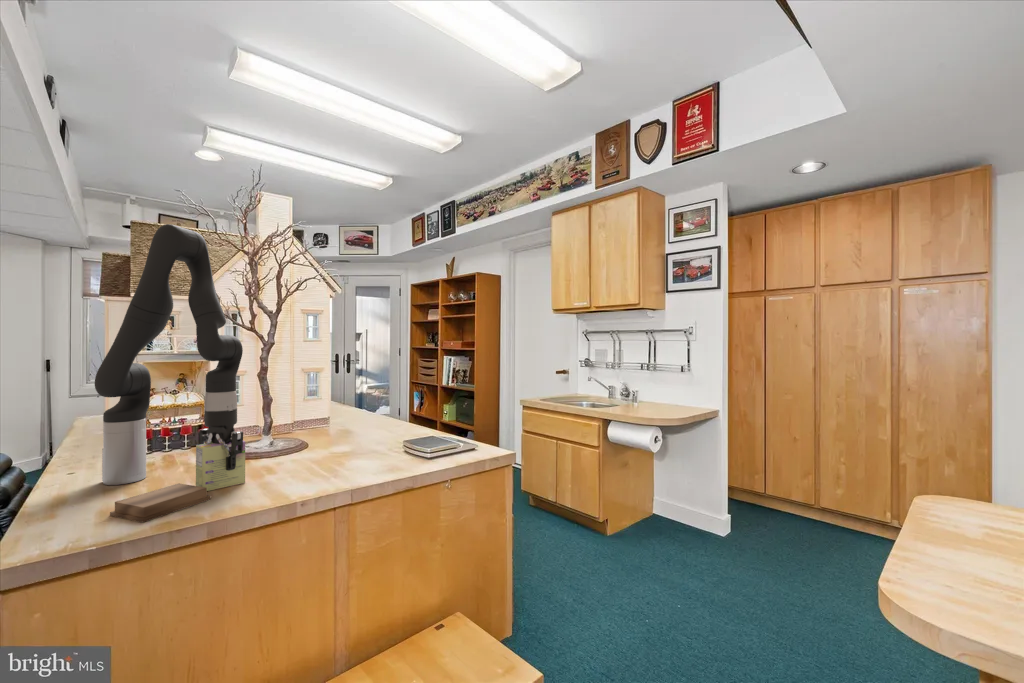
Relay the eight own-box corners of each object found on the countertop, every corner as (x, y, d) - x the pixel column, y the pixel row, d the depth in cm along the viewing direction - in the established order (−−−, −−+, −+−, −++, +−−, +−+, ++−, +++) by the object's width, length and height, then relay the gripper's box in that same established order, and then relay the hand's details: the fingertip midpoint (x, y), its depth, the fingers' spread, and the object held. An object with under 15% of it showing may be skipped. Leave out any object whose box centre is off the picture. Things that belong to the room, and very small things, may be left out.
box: (237, 479, 127) (238, 438, 127) (245, 483, 124) (245, 440, 124) (195, 488, 119) (195, 444, 119) (202, 493, 116) (202, 447, 116)
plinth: (110, 515, 100) (110, 502, 100) (180, 494, 115) (180, 482, 115) (142, 522, 97) (142, 508, 97) (210, 499, 111) (210, 487, 111)
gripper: (188, 408, 120) (188, 469, 120) (227, 411, 115) (227, 474, 115) (215, 404, 127) (215, 462, 127) (252, 407, 122) (252, 467, 122)
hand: (221, 468), depth 121 cm, fingers closed on box, 6 cm apart
